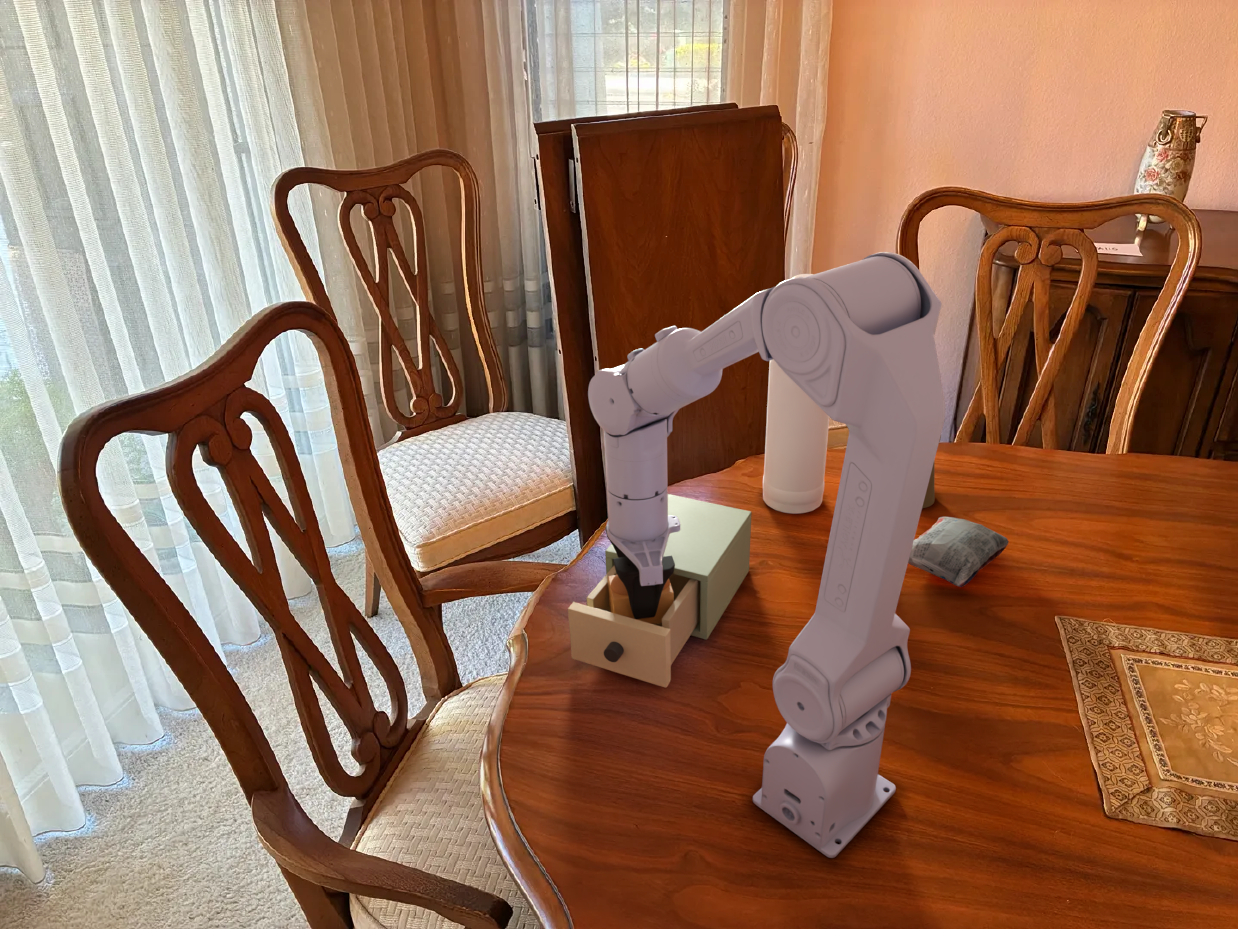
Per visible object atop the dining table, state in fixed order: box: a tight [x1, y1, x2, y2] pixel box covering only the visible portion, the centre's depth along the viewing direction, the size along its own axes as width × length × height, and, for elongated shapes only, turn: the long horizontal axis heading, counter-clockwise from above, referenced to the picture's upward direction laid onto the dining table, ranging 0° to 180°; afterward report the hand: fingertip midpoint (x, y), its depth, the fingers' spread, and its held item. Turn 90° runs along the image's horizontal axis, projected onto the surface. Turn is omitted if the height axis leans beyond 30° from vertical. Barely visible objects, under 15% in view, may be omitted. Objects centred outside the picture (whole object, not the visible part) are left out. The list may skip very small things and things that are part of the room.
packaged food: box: [908, 516, 1010, 588], centre depth 98 cm, size 9×12×5 cm
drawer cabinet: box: [604, 493, 752, 640], centre depth 95 cm, size 14×12×8 cm
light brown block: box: [608, 575, 674, 624], centre depth 86 cm, size 6×4×5 cm, turn 98°
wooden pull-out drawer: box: [567, 566, 701, 689], centre depth 87 cm, size 14×10×6 cm
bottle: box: [762, 273, 831, 515], centre depth 107 cm, size 8×8×30 cm
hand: (640, 602), depth 86 cm, fingers closed on light brown block, 4 cm apart
